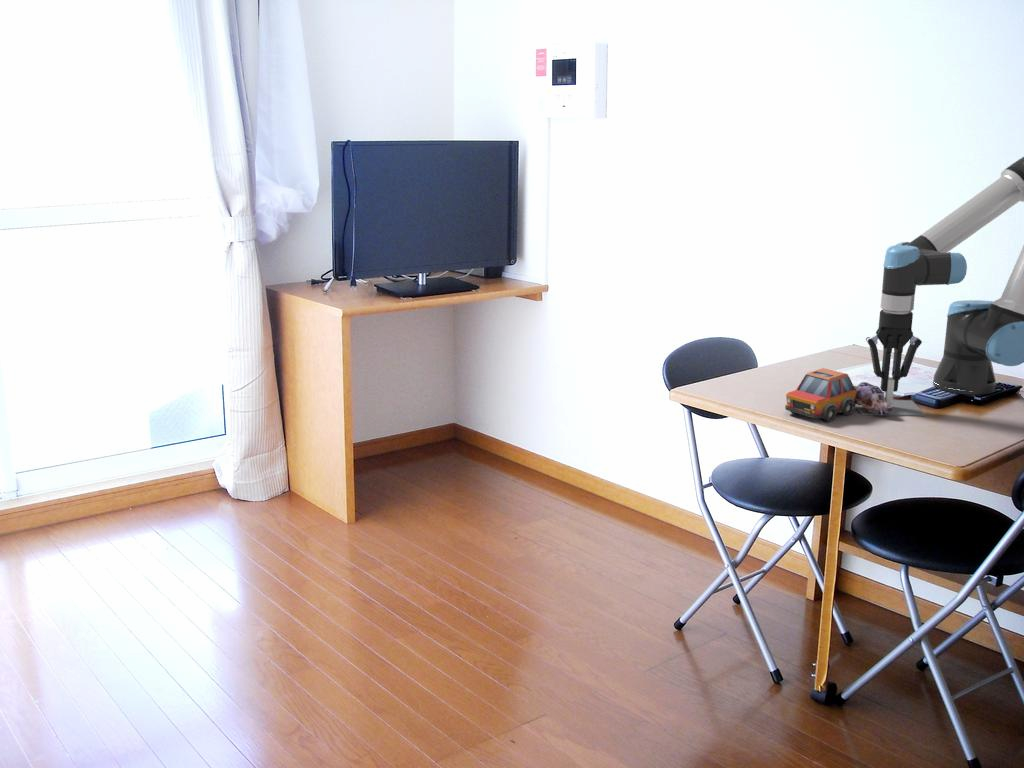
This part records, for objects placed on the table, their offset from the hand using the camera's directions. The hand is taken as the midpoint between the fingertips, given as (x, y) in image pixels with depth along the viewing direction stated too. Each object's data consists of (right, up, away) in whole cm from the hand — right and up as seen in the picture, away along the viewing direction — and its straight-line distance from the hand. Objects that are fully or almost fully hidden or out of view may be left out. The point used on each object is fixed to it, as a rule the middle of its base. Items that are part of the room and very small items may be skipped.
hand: (887, 403), depth 259 cm
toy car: (-17, -3, -2) cm, 18 cm away
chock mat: (0, -1, +1) cm, 2 cm away
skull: (-4, -2, -2) cm, 5 cm away
